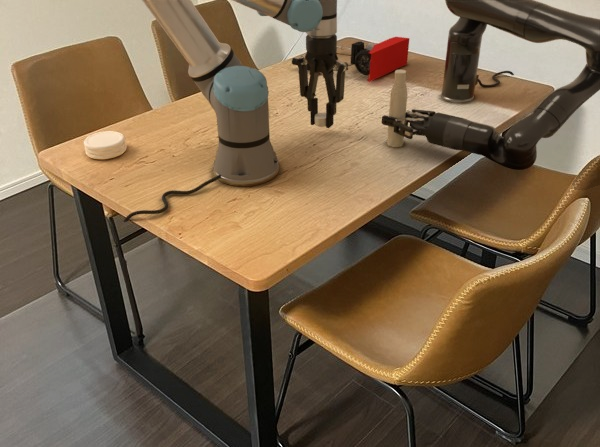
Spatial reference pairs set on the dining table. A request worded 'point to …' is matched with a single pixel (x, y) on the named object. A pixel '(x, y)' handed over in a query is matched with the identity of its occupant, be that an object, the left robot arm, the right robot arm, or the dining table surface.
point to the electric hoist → (376, 57)
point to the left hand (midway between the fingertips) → (322, 124)
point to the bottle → (397, 106)
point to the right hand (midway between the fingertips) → (387, 116)
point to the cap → (320, 119)
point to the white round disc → (105, 145)
